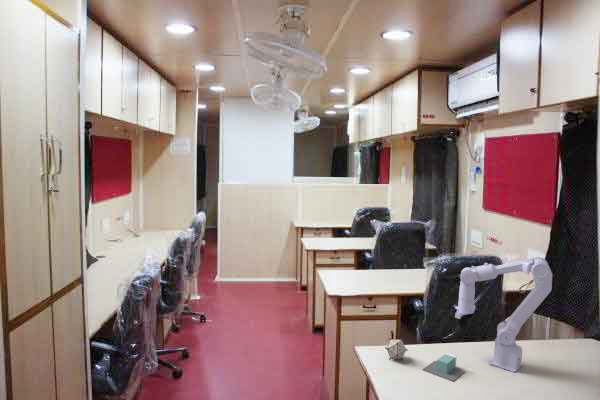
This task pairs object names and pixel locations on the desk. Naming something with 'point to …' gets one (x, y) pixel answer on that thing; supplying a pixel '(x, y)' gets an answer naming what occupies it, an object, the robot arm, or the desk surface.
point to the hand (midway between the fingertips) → (463, 331)
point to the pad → (449, 376)
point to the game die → (396, 349)
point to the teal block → (446, 363)
